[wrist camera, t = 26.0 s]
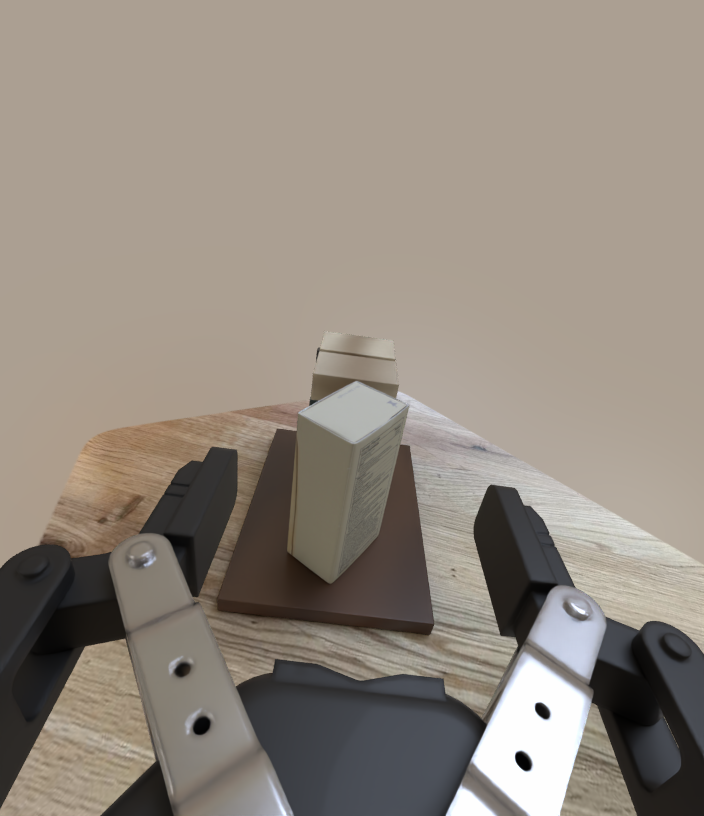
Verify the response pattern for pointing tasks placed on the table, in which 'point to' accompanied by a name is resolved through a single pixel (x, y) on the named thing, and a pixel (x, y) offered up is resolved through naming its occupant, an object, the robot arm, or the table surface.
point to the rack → (376, 567)
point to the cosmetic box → (342, 476)
